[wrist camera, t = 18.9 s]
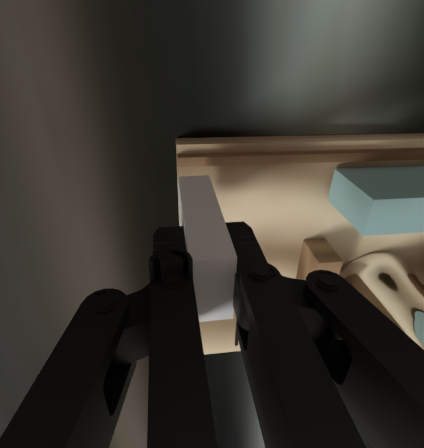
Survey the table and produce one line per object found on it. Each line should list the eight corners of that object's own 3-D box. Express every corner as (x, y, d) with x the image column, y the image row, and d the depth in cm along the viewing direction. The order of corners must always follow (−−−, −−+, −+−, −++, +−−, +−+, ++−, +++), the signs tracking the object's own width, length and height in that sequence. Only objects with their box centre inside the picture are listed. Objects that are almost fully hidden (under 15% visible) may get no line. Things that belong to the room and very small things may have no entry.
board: (175, 138, 18) (178, 161, 15) (577, 129, 21) (650, 147, 18) (184, 343, 27) (187, 386, 23) (466, 316, 30) (503, 350, 27)
